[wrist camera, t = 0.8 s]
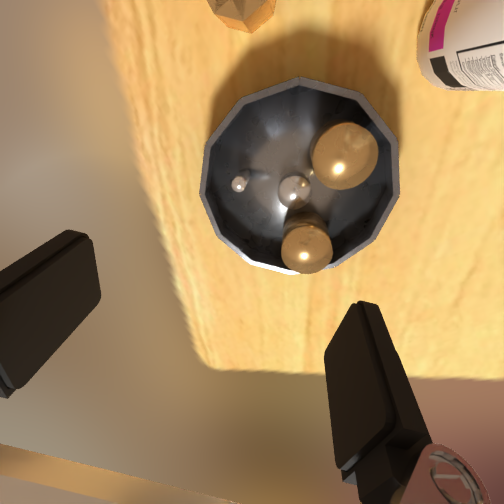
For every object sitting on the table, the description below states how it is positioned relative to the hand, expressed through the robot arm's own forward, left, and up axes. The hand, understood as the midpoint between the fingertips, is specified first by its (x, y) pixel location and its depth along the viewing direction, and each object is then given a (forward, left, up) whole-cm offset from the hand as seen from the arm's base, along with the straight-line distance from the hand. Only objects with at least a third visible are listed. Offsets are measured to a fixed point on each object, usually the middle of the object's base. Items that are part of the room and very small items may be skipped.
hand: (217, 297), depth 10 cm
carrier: (+2, +4, -24) cm, 24 cm away
